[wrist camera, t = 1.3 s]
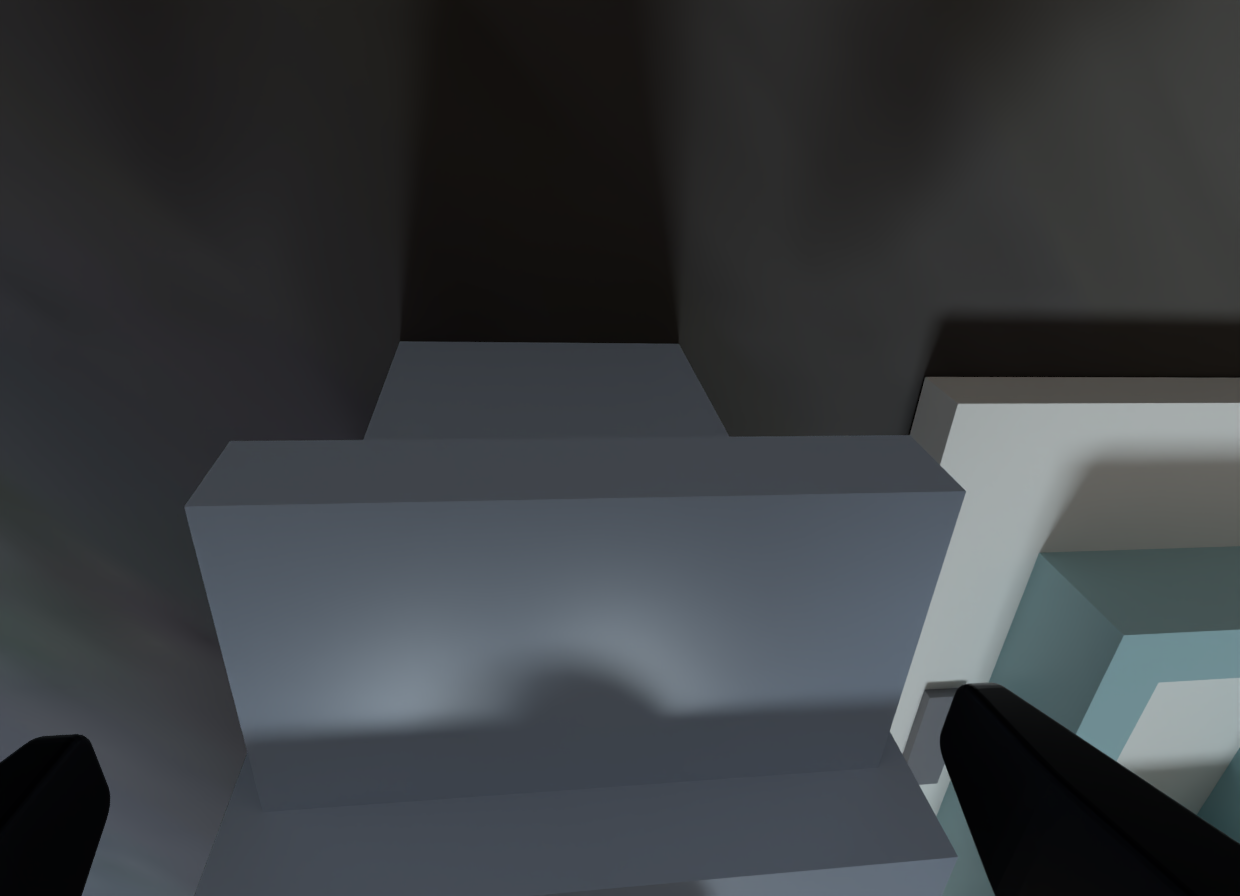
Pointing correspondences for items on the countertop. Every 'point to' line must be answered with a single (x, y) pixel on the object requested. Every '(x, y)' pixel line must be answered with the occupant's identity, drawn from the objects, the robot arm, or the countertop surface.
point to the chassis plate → (1087, 579)
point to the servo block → (571, 641)
